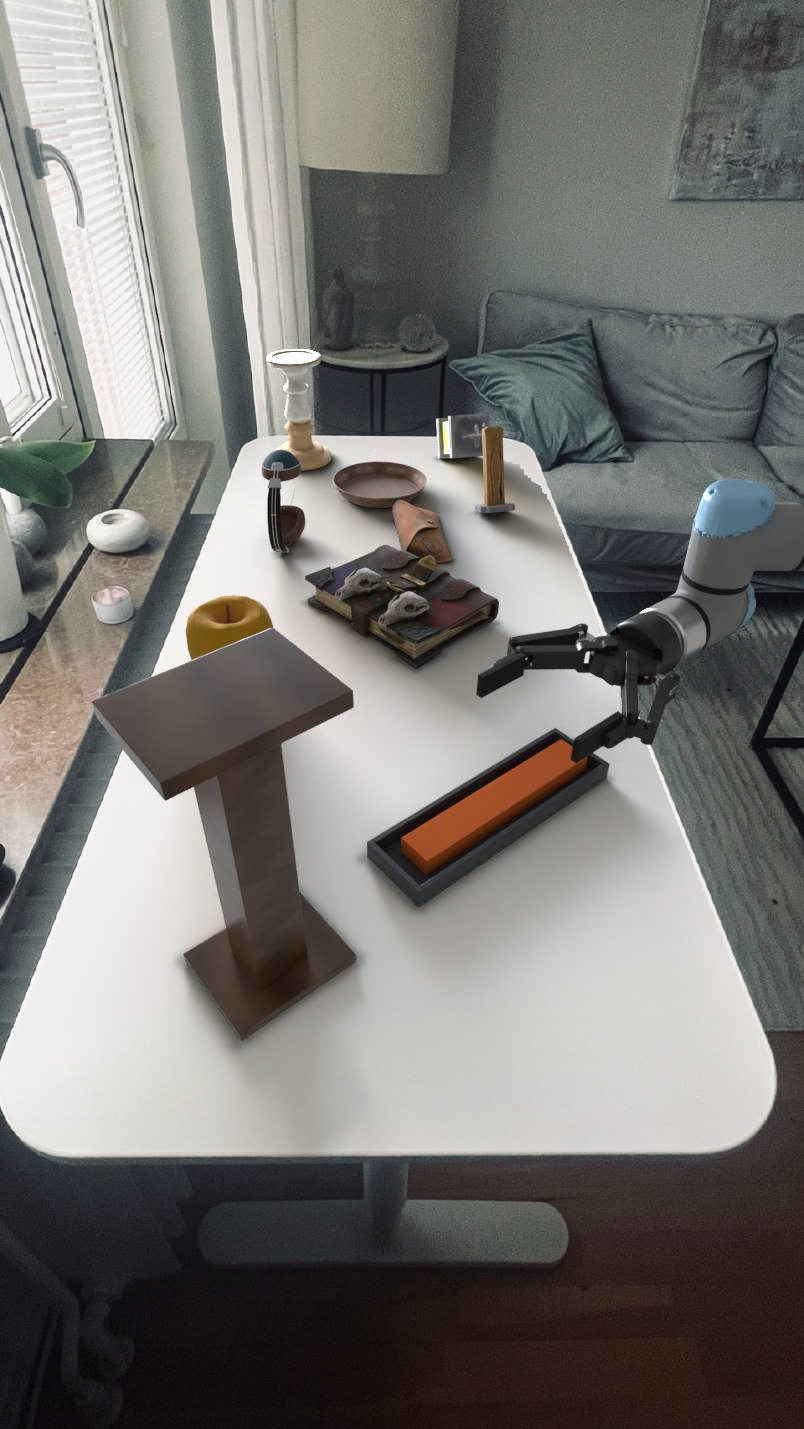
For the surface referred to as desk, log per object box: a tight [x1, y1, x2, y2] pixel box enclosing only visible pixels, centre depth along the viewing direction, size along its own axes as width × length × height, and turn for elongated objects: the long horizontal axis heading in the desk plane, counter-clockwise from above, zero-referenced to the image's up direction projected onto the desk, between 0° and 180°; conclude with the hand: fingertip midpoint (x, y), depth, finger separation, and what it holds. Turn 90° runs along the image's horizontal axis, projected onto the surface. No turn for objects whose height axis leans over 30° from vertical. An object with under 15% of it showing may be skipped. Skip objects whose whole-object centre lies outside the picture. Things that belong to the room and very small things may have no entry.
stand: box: [91, 627, 357, 1041], centre depth 62 cm, size 14×10×30 cm
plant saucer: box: [332, 460, 428, 509], centre depth 149 cm, size 18×18×3 cm
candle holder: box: [265, 348, 332, 472], centre depth 157 cm, size 12×12×20 cm
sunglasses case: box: [391, 500, 453, 565], centre depth 135 cm, size 18×7×7 cm
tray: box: [366, 727, 611, 908], centre depth 85 cm, size 28×8×2 cm, turn 130°
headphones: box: [261, 449, 306, 554], centre depth 131 cm, size 6×15×22 cm
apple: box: [185, 594, 274, 661], centre depth 98 cm, size 11×11×13 cm
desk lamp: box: [435, 412, 516, 514], centre depth 151 cm, size 8×17×30 cm
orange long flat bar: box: [401, 739, 588, 875], centre depth 85 cm, size 24×4×2 cm, turn 129°
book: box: [304, 544, 500, 670], centre depth 116 cm, size 26×18×7 cm
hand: (524, 717), depth 79 cm, fingers open, 12 cm apart
